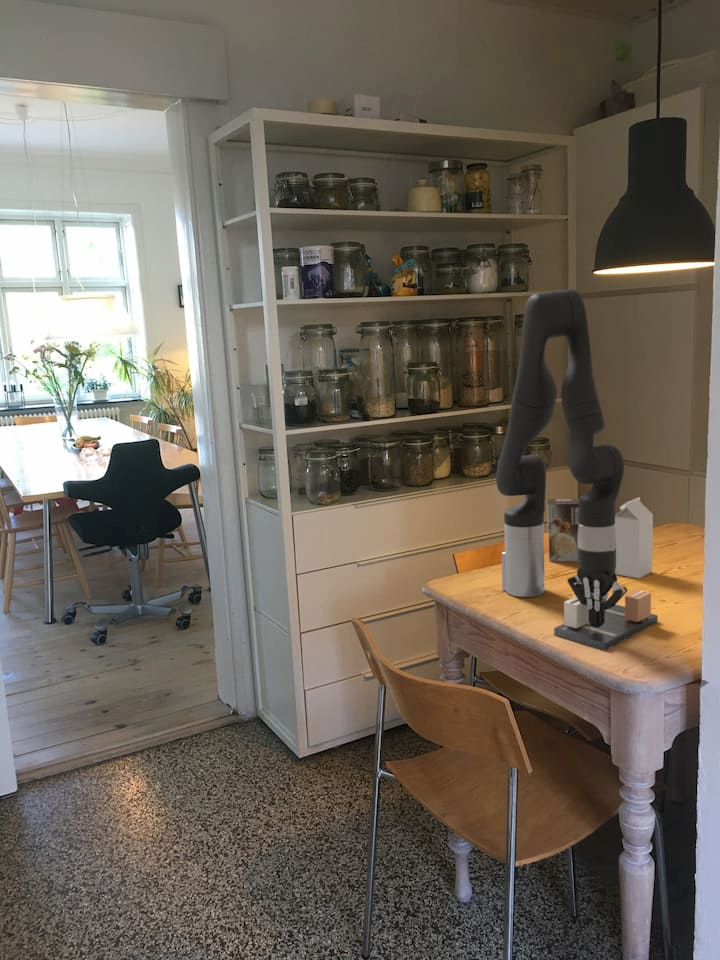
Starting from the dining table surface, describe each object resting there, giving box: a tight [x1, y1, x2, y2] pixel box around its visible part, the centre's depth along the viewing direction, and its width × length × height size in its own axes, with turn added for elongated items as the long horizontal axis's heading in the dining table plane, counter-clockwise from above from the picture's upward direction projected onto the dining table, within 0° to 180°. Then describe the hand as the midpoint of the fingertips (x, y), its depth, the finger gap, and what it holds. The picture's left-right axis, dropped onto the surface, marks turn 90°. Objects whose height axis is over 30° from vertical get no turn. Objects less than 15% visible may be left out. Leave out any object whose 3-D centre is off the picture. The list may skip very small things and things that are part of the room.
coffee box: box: [547, 498, 580, 563], centre depth 215 cm, size 9×6×16 cm
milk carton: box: [615, 497, 654, 579], centre depth 200 cm, size 7×7×19 cm
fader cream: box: [563, 596, 589, 628], centre depth 166 cm, size 3×5×5 cm, turn 131°
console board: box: [553, 603, 659, 651], centre depth 168 cm, size 12×20×2 cm, turn 131°
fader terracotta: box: [624, 589, 652, 622], centre depth 168 cm, size 3×5×5 cm, turn 131°
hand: (596, 626), depth 164 cm, fingers closed
